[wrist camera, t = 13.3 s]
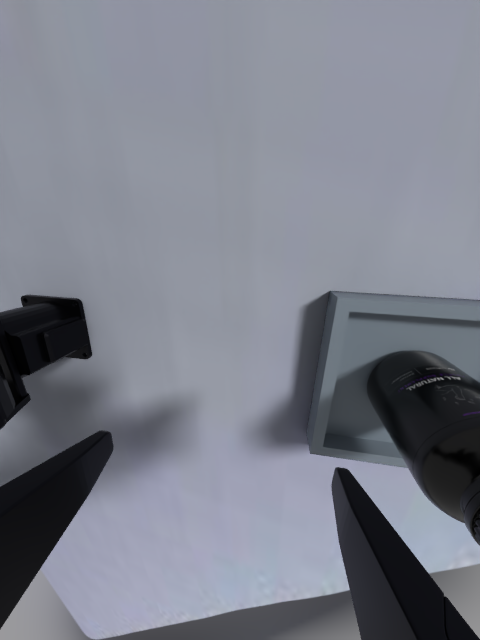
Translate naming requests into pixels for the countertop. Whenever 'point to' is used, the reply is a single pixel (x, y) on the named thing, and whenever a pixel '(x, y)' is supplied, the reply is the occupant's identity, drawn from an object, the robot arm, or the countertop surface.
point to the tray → (368, 351)
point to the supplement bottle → (433, 428)
